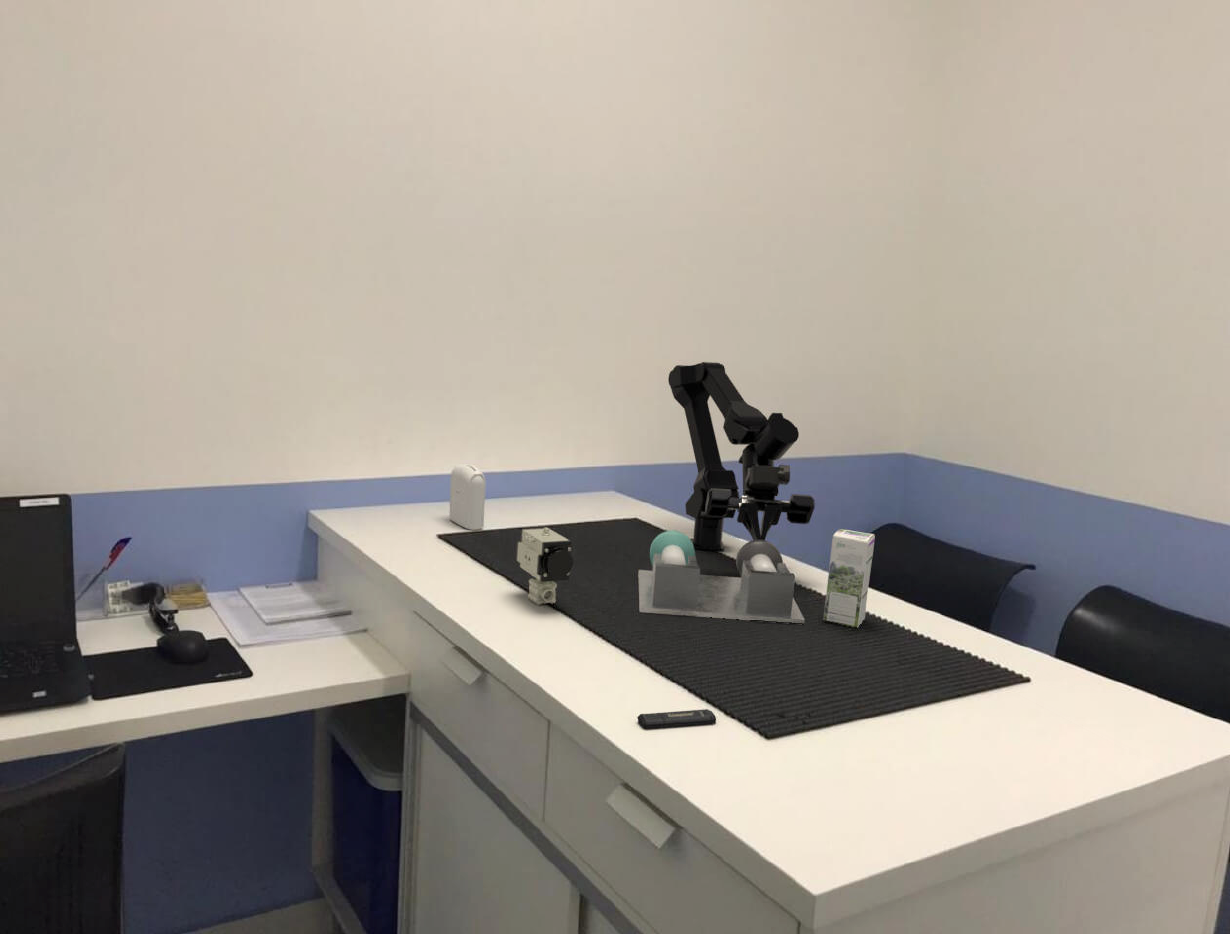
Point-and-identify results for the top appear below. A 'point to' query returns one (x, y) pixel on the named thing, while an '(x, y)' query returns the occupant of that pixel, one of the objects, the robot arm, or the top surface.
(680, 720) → the usb stick
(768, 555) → the dark grey rounded piece
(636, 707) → the top surface
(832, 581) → the syrup box
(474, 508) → the photo printer
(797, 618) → the mount
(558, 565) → the pneumatic valve
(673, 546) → the teal knob
